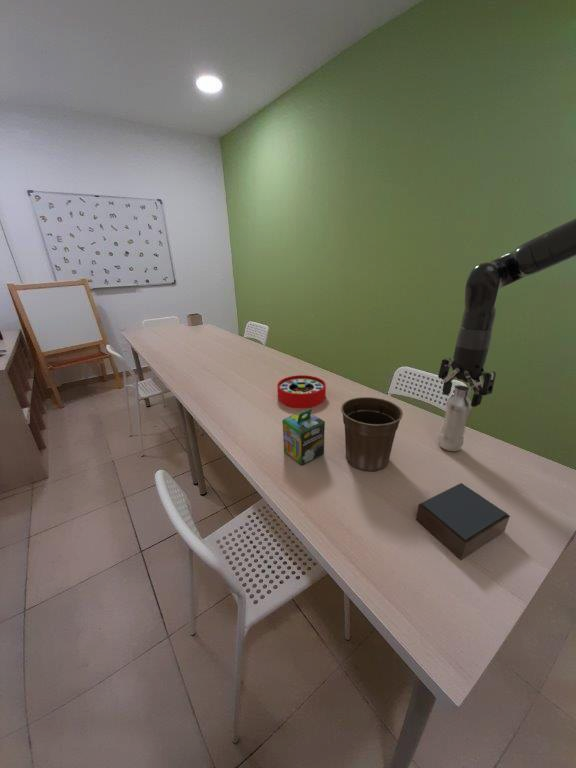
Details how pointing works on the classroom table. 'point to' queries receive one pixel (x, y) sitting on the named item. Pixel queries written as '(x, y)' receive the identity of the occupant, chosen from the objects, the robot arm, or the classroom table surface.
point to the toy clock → (301, 391)
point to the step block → (461, 519)
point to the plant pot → (370, 431)
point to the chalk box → (303, 436)
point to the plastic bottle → (455, 419)
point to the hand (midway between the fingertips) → (459, 399)
